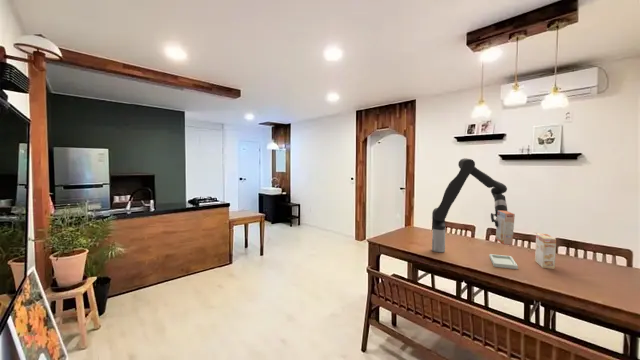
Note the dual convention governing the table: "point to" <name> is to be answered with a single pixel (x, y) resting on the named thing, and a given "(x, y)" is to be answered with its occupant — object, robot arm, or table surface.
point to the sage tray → (503, 261)
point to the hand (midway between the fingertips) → (503, 227)
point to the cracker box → (505, 227)
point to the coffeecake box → (545, 250)
